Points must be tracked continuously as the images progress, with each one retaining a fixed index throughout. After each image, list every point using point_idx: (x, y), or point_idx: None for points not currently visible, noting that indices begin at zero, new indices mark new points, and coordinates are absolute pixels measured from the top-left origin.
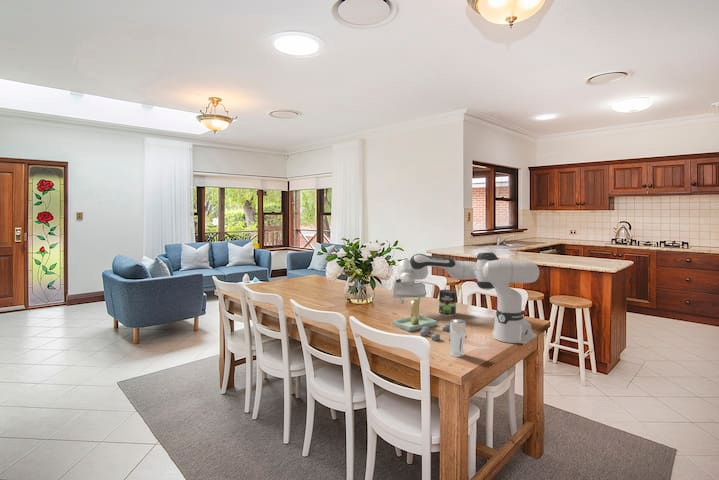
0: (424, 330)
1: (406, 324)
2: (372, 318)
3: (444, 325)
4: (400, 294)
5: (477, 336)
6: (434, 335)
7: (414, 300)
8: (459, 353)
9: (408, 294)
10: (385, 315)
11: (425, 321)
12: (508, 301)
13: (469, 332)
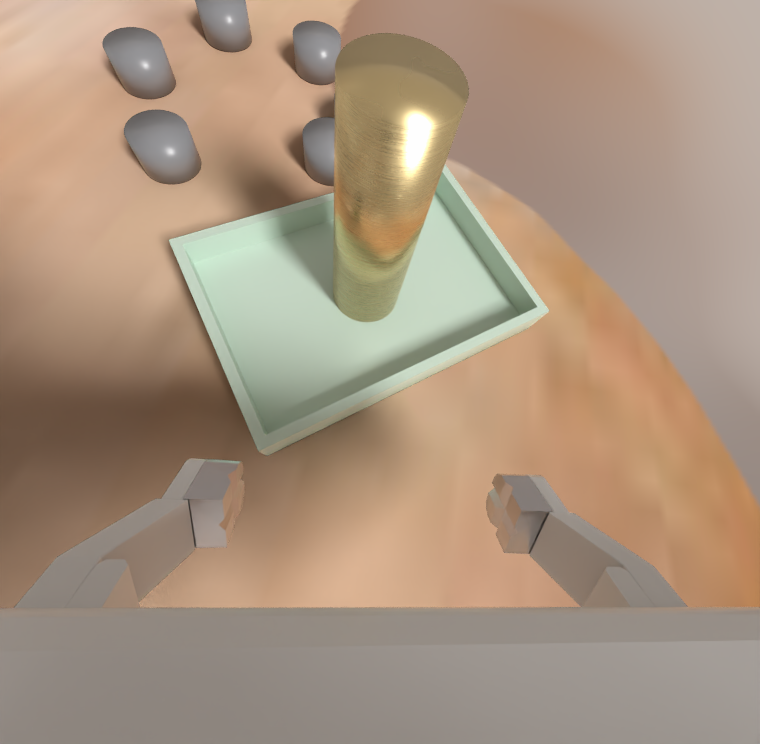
0: None
1: (432, 294)
2: (696, 545)
3: (169, 139)
4: (680, 611)
5: (35, 45)
6: (329, 30)
7: (408, 92)
8: None
9: (440, 610)
10: None
11: (249, 339)
12: None
13: (30, 102)
